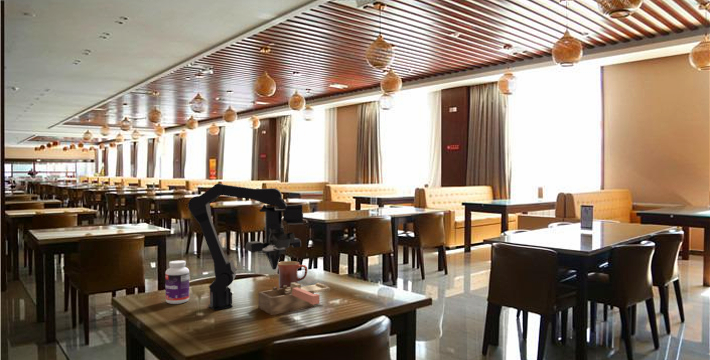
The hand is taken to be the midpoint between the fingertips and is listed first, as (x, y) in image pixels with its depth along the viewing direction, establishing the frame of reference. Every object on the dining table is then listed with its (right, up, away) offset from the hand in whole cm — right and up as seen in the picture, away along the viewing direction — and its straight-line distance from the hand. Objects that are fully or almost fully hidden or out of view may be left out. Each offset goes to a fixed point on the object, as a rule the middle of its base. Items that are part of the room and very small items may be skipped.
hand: (274, 269), depth 167 cm
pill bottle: (-36, -13, +6) cm, 38 cm away
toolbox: (+5, -13, -3) cm, 14 cm away
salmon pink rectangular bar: (+12, -7, -14) cm, 20 cm away
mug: (+3, -12, +23) cm, 27 cm away
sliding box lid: (+11, -8, +2) cm, 14 cm away
